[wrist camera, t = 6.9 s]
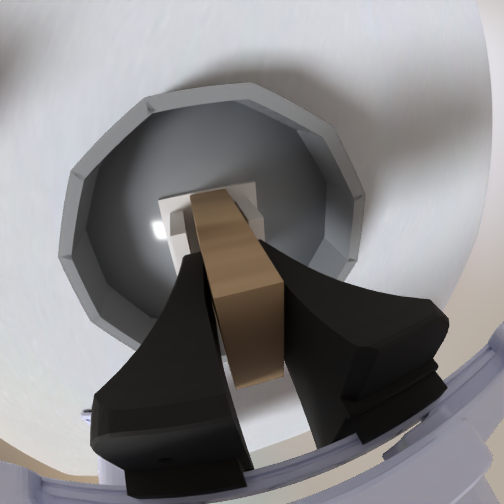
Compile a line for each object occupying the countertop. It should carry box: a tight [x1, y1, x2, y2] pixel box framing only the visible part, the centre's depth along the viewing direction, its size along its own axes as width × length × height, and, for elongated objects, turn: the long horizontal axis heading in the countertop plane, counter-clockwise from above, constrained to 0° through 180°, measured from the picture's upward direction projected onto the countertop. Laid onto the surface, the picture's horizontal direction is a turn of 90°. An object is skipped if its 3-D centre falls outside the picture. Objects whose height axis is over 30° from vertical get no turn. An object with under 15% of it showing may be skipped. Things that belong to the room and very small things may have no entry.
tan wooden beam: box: [190, 189, 284, 389], centre depth 10 cm, size 4×2×7 cm, turn 3°
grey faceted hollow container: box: [58, 82, 365, 362], centre depth 12 cm, size 13×13×3 cm
